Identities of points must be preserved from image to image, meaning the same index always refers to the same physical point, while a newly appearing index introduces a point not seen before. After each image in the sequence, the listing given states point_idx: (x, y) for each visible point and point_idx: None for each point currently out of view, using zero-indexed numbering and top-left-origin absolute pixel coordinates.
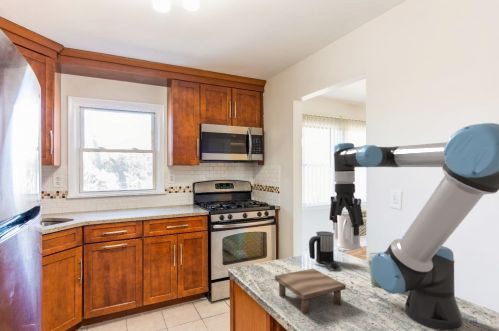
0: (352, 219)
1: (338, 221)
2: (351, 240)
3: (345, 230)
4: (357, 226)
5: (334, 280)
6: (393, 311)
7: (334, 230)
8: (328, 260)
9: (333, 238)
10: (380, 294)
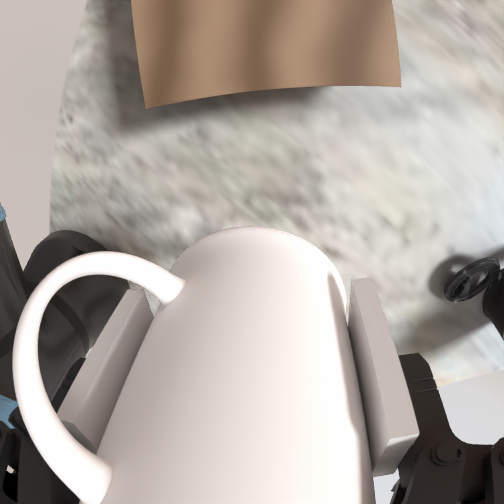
0: (26, 495)
1: (257, 479)
2: (128, 311)
3: (146, 370)
4: None
5: (204, 85)
6: (109, 219)
7: (392, 345)
8: (495, 295)
9: None
10: None
